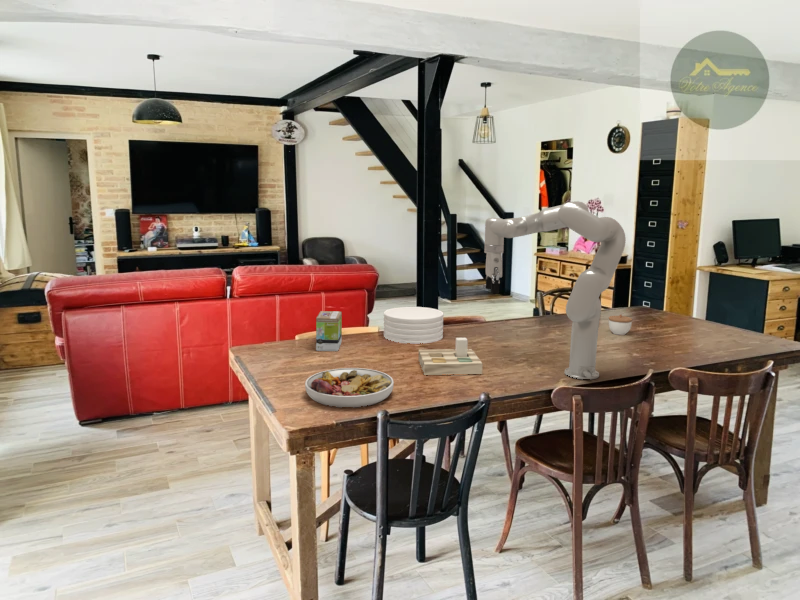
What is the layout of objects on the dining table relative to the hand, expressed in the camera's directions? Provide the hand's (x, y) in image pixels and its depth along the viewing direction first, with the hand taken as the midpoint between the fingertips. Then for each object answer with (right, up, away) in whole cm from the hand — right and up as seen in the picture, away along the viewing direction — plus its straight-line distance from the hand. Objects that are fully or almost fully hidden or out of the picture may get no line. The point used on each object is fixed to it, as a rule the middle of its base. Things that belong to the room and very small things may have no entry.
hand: (492, 291), depth 244 cm
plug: (-13, -29, -6) cm, 32 cm away
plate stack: (-31, -21, +40) cm, 55 cm away
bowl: (-55, -36, -38) cm, 76 cm away
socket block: (-18, -30, -8) cm, 36 cm away
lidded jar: (+69, -20, +49) cm, 87 cm away
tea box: (-69, -25, +21) cm, 76 cm away
